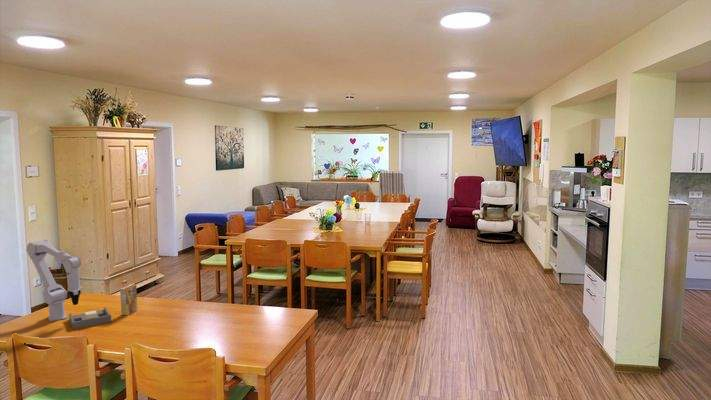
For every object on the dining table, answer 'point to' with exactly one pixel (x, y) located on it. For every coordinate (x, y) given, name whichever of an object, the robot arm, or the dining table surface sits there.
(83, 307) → the dining table surface
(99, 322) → the trap box
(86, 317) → the cream block
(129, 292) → the candy box
